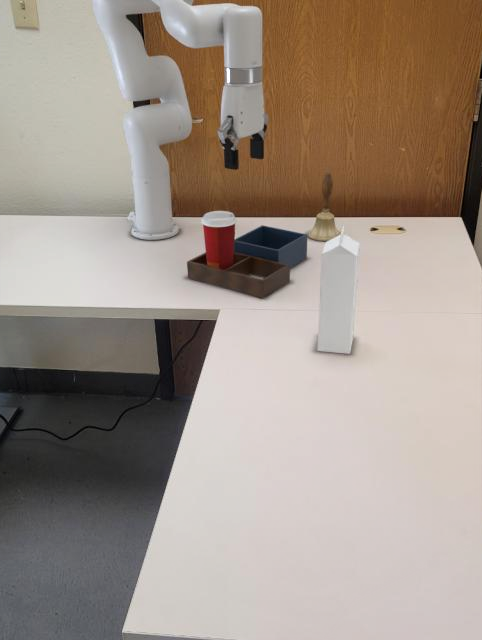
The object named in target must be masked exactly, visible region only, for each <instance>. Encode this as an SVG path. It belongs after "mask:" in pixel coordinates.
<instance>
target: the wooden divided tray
mask: <svg viewBox="0 0 482 640" xmlns="http://www.w3.org/2000/svg"><path fill="white" fill-rule="evenodd" d="M186 268H187V269H186V270H187V279H189V280H194V281H197V282H200V283H205V284H208V285H212V286H215V287H219V288H222V289H227V290H231V291H234V292H238V293H242V294H245V295H249V296H252V297H256V298H259V299H260V298H261V299H265V298H266V297H268V296H269V295H271V294H273V293H275V292H276V291H277V290H279V289H282V287H284V286H286V285H287V284H289V283H290V281H291V280H290V279H291V269H290V265H288V264H284V263H279V262H275V261H271V260H266V259H262V258H258V257H254V256H249V255H245V254H241V253H237V252H234V265H232V266H230V267H229V268H227V269H225V270H223V269H219V268H215V267H211V266H207V258H206V251H205V252H202V253H201V254H199V255H196V256H195V257H193V258H191V259H189V260H188V261H186ZM250 275H251V276H250ZM252 275H254V276H259V277H263V278H258V277H254V276H252Z"/></svg>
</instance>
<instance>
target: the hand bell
mask: <svg viewBox="0 0 482 640" xmlns="http://www.w3.org/2000/svg"><path fill="white" fill-rule="evenodd" d="M333 187H334V183H333V178H332V173H331V172H325V174H324V177H323V179H322V184H321V190H322V191H321V192H322V193H321V194H322V197H323V202H322V211H321V212H318V213H317V214H316V218H315V221H314V225H313V228H312V229H310V230H309V232H308V233H307V235H308V236H307V237H308V238H310V239H312V240H313V241H319V242H327V241H329V240H331V239H333V238H335V237H337V236H339V235H341V232H340V231H339V230H338V229H337V226H336V222H335V221H336V220H335V215H334V214H333V213H332V212H330V202H331V201H330V200H331V196H332V193H333Z"/></svg>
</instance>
